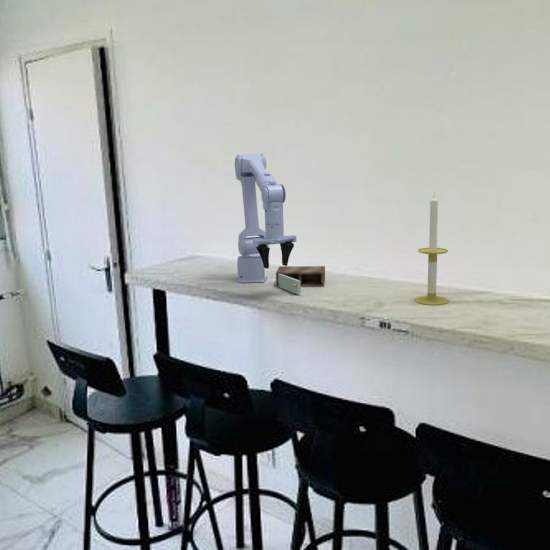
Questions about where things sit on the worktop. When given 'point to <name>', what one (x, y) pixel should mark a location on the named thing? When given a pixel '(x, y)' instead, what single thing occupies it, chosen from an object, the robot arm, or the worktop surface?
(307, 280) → the cabinet
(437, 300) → the candle
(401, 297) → the worktop surface
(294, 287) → the door
